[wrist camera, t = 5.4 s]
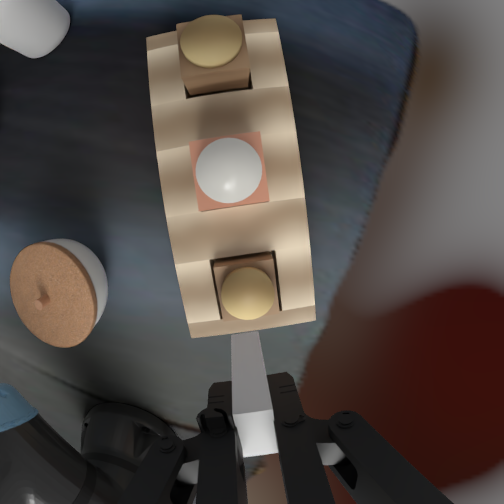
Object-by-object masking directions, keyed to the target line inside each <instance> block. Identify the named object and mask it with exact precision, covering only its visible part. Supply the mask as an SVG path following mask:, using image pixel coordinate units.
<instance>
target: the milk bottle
mask: <svg viewBox="0 0 504 504" xmlns="http://www.w3.org/2000/svg"><path fill="white" fill-rule="evenodd" d="M69 26H70V15H69V13H68V12H67V11H66V10H65V9H64V8H63V7H62V6H61V5H60V4H59V3H58V2H57V1H56V0H0V43H1V44H3V45H5V46H7V47H9V48H11V49H13V50H15V51H17V52H19V53H21V54H23V55H25V56H27V57H29V58H39V57H43V56H45V55H47V54H48V53H50V52H51V51H53V50H54V49H55V48H56V47H57V46H58V45H59V44H60V43H61V41H62V40H63V39H64V37H65V36H66V34H67V32H68V29H69Z"/></svg>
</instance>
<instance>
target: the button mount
mask: <svg viewBox="0 0 504 504" xmlns="http://www.w3.org/2000/svg"><path fill="white" fill-rule="evenodd" d="M243 26H244V32H245V38H246V44H247V50H248V56H249V63H250V73H249V81H248V87H245V88H237V89H229V90H222V91H215V92H209V93H203V94H197V95H190V93H189V92H188V90H187V88H186V86H185V84H184V82H183V80H182V78H181V72H180V61H179V51H178V40H177V31H173V32H168V33H164V34H159V35H155V36H151V37H147V38H146V39H147V58H148V74H149V87H150V98H151V109H152V119H153V128H154V136H155V145H156V153H157V160H158V168H159V175H160V182H161V188H162V195H163V201H164V207H165V213H166V219H167V225H168V230H169V236H170V241H171V247H172V252H173V257H174V262H175V267H176V272H177V277H178V281H179V286H180V291H181V295H182V300H183V304H184V309H185V313H186V317H187V321H188V326H189V330H190V334H191V338H198V337H207V336H215V335H223V334H231V333H239V332H246V331H253V330H260V329H267V328H273V327H279V326H286V325H292V324H297V323H303V322H309V321H314V320H316V315H315V300H314V286H313V274H312V262H311V251H310V240H309V230H308V221H307V212H306V203H305V194H304V186H303V178H302V170H301V163H300V155H299V148H298V141H297V135H296V128H295V121H294V115H293V109H292V103H291V97H290V91H289V85H288V79H287V74H286V68H285V63H284V58H283V53H282V47H281V42H280V37H279V33H278V28H277V23H276V19H258V20H246V21H243ZM258 131H260V134H261V141H262V148H263V156H264V163H265V170H266V177H267V185H268V192H269V200H270V201H267V202H260V203H253V204H246V205H239V206H232V207H225V208H218V209H212V210H206V211H199V209H198V203H197V197H196V190H195V183H194V176H193V170H192V162H191V155H190V148H189V142H191V141H196V140H202V139H208V138H214V137H221V136H227V135H234V134H242V133H250V132H258ZM265 251H270V253H271V255H272V257H273V261H274V269H275V278H276V286H277V294H278V303H279V312H280V314H274V315H267V316H261V317H259V318H256V319H252V320H243V319H240V320H232V321H225V322H223V317H222V312H221V307H220V301H219V296H218V291H217V285H216V280H215V274H214V268H213V267H214V263H215V259H217V258H224V257H231V256H238V255H244V254H251V253H258V252H265Z"/></svg>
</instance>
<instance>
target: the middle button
mask: <svg viewBox="0 0 504 504" xmlns="http://www.w3.org/2000/svg"><path fill="white" fill-rule="evenodd" d="M189 148H190V155H191V162H192V170H193V176H194V183H195V190H196V197H197V203H198V209H199V211H206V210H212V209H218V208H225V207H232V206H239V205H246V204H253V203H260V202H267V201H270V200H269V192H268V185H267V177H266V170H265V163H264V156H263V148H262V141H261V134H260V131H258V132H250V133H242V134H234V135H227V136H221V137H214V138H208V139H202V140H196V141H191V142H189Z"/></svg>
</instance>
